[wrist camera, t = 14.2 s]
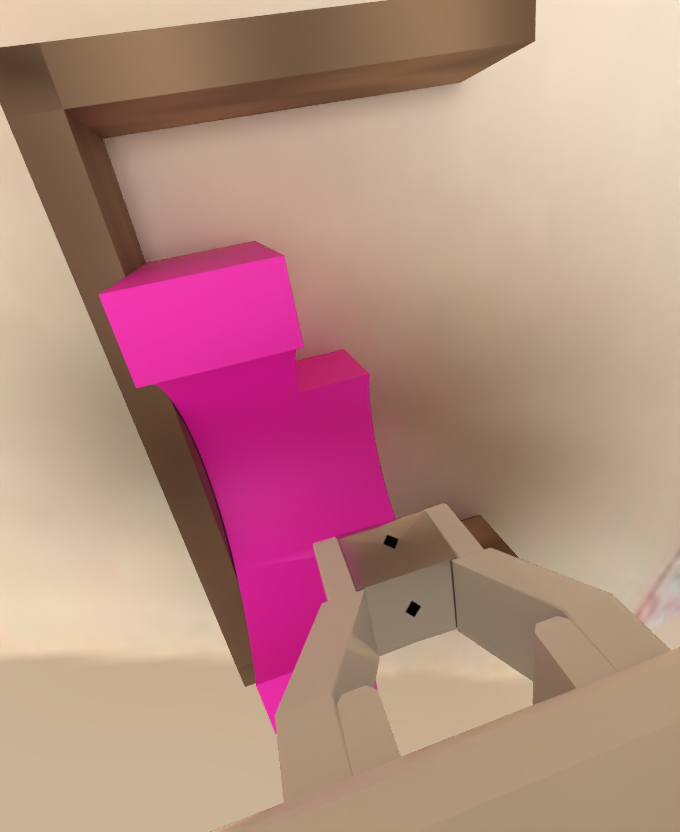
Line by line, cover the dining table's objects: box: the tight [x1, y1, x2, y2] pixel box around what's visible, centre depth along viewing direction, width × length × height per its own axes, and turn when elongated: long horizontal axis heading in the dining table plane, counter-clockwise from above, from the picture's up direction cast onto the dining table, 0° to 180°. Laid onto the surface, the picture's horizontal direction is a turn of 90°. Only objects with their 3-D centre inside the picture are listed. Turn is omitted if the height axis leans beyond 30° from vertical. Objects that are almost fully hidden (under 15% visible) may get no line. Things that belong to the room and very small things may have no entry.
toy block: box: [99, 241, 395, 734], centre depth 16 cm, size 15×6×8 cm, turn 10°
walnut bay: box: [0, 0, 536, 687], centre depth 17 cm, size 13×21×4 cm, turn 10°
